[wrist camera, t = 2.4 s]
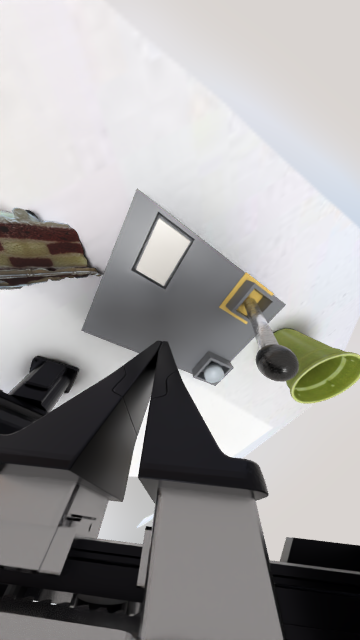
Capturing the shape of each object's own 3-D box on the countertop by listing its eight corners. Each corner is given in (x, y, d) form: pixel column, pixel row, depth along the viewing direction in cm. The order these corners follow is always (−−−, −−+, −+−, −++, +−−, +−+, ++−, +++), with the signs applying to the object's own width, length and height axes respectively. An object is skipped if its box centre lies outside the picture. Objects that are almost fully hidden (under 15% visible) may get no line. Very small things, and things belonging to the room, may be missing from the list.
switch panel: (207, 370, 28) (214, 391, 24) (90, 321, 21) (72, 339, 17) (274, 298, 22) (298, 309, 18) (141, 196, 15) (133, 177, 11)
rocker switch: (164, 282, 16) (163, 285, 15) (138, 266, 15) (135, 269, 14) (189, 240, 14) (190, 241, 13) (160, 218, 13) (158, 218, 12)
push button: (213, 378, 24) (216, 385, 23) (199, 373, 23) (201, 379, 22) (225, 367, 23) (228, 373, 22) (210, 360, 22) (213, 366, 21)
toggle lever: (241, 314, 19) (263, 390, 10) (236, 297, 18) (258, 367, 9) (262, 309, 18) (307, 388, 9) (259, 290, 17) (307, 362, 8)
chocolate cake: (91, 207, 15) (-189, 122, 7) (107, 274, 17) (-109, 276, 8) (70, 238, 22) (-89, 215, 13) (82, 285, 23) (-53, 293, 14)
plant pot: (310, 344, 27) (367, 383, 20) (264, 368, 29) (300, 412, 21) (299, 309, 23) (365, 340, 16) (247, 339, 25) (283, 380, 17)
